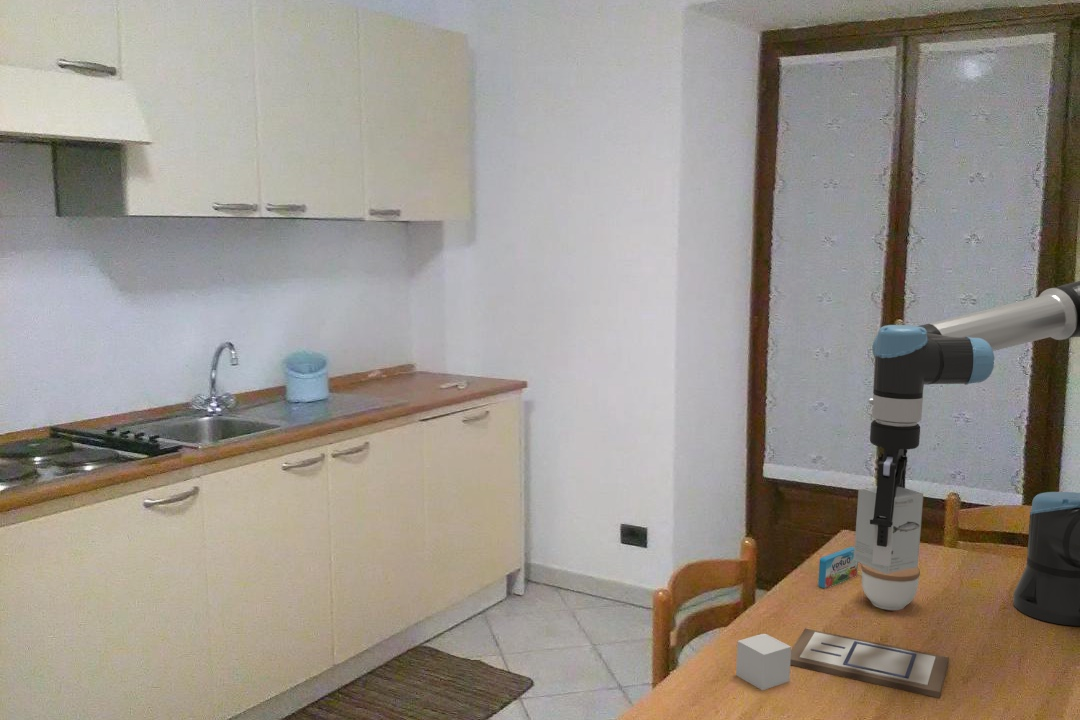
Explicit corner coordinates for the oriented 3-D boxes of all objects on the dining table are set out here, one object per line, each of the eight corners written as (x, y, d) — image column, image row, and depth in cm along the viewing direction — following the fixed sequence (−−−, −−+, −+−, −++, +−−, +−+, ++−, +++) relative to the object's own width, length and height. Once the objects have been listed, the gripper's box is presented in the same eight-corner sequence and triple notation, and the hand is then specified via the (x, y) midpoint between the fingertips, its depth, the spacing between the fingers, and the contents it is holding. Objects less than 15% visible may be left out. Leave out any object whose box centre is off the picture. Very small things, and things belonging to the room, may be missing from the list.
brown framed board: (948, 663, 163) (949, 655, 163) (939, 698, 151) (940, 690, 151) (804, 633, 174) (805, 626, 174) (785, 663, 162) (785, 656, 162)
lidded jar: (908, 595, 193) (911, 550, 192) (924, 616, 183) (927, 569, 181) (853, 592, 194) (856, 547, 193) (866, 613, 184) (869, 566, 182)
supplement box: (886, 575, 154) (892, 498, 153) (852, 560, 161) (856, 486, 159) (919, 568, 158) (925, 493, 156) (884, 554, 164) (889, 482, 162)
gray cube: (735, 675, 158) (737, 640, 157) (762, 667, 161) (764, 633, 160) (762, 690, 153) (764, 654, 152) (789, 682, 156) (791, 646, 155)
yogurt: (824, 589, 196) (826, 560, 195) (818, 587, 197) (819, 558, 196) (857, 576, 204) (858, 548, 203) (850, 574, 205) (852, 546, 204)
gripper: (882, 408, 167) (874, 532, 170) (858, 431, 148) (849, 571, 151) (928, 412, 164) (919, 539, 167) (910, 436, 144) (900, 580, 147)
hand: (886, 554), depth 159 cm, fingers closed on supplement box, 10 cm apart
